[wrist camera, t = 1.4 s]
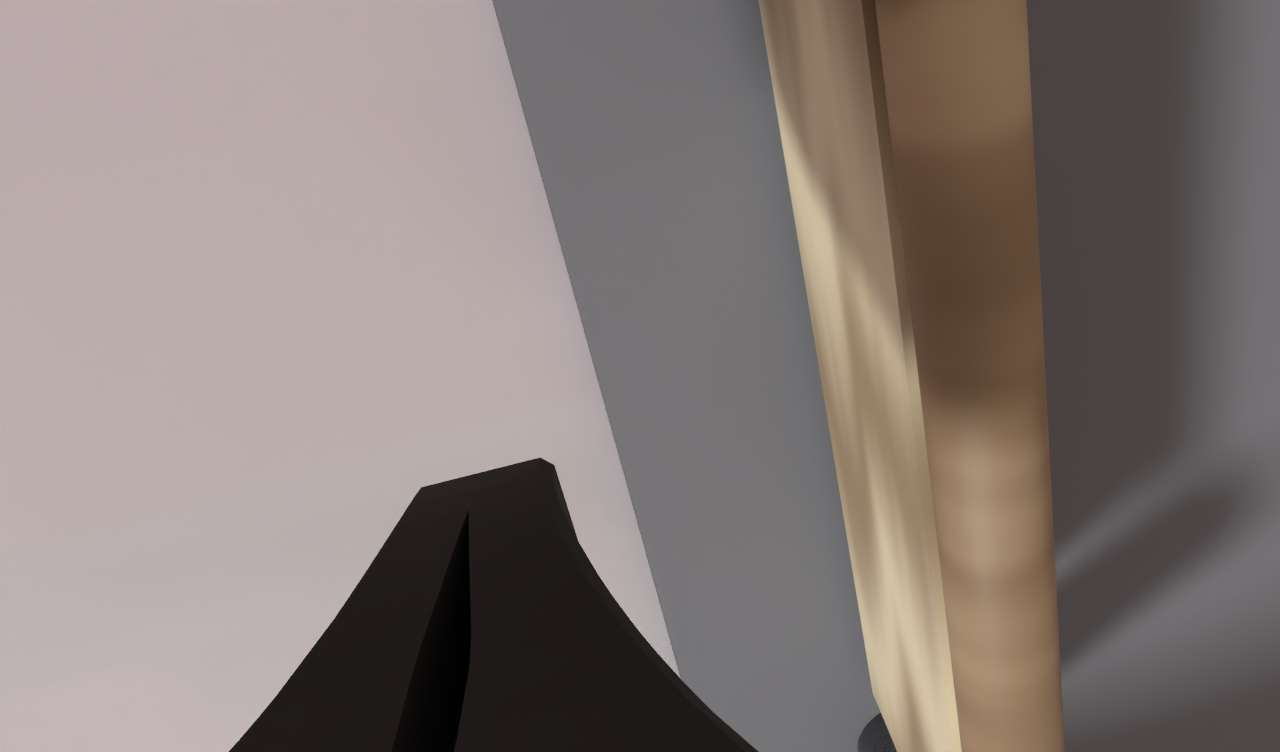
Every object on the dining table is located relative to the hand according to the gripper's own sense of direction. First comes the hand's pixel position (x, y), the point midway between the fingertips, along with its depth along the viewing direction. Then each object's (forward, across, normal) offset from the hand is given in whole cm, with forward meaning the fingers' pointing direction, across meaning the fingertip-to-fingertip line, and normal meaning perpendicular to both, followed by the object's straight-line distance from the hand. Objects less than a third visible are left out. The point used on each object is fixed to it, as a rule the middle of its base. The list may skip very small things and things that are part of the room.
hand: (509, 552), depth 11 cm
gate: (+6, -5, +1) cm, 8 cm away
